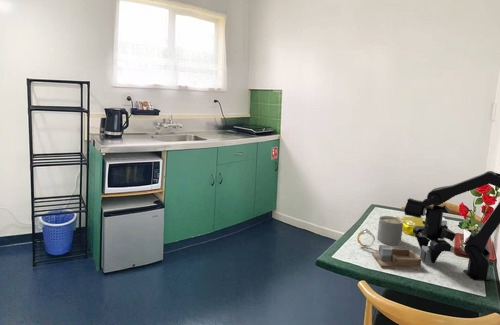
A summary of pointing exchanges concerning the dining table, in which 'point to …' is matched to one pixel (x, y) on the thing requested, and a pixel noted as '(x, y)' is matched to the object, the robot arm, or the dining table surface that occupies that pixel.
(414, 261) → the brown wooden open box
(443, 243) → the robot arm
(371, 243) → the ring
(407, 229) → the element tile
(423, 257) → the block
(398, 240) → the coffee mug
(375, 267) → the dining table surface
